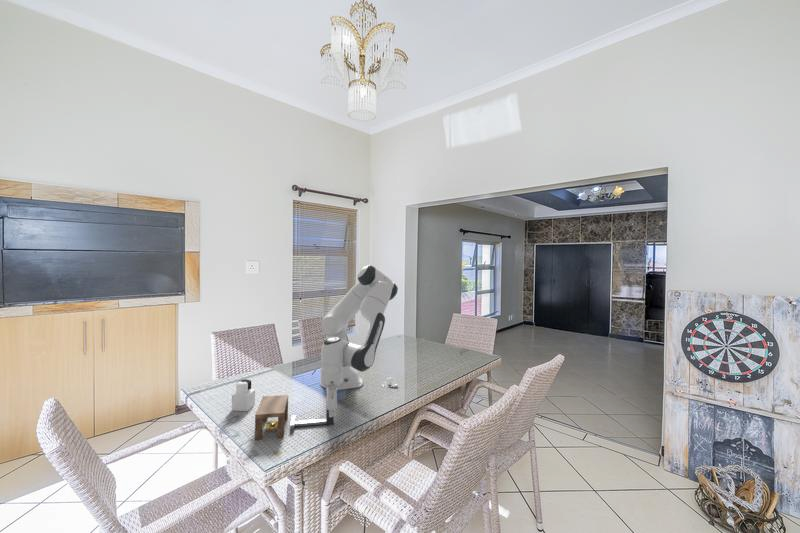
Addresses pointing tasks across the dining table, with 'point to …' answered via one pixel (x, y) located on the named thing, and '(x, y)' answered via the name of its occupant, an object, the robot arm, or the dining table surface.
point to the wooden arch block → (271, 413)
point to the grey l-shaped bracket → (311, 421)
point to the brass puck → (272, 425)
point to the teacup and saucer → (390, 382)
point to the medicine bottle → (243, 396)
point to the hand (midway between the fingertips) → (330, 410)
